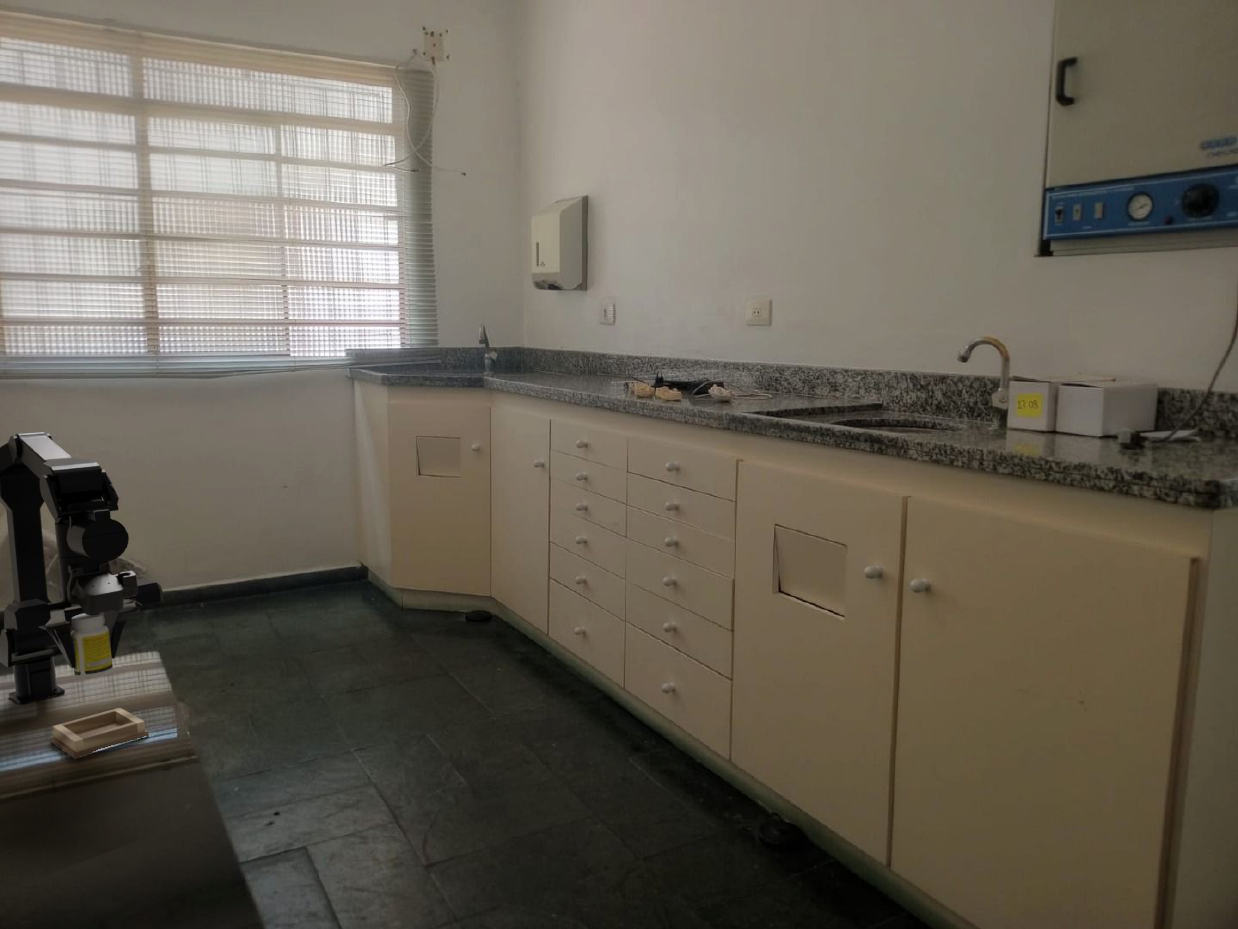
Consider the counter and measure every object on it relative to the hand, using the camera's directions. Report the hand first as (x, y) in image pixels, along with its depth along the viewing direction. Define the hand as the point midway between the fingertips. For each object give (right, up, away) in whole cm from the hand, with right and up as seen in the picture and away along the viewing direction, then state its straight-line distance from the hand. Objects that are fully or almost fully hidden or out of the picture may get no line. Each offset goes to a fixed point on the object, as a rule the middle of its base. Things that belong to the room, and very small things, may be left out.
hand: (92, 662), depth 134 cm
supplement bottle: (0, -2, 0) cm, 2 cm away
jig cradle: (0, -11, +1) cm, 11 cm away
